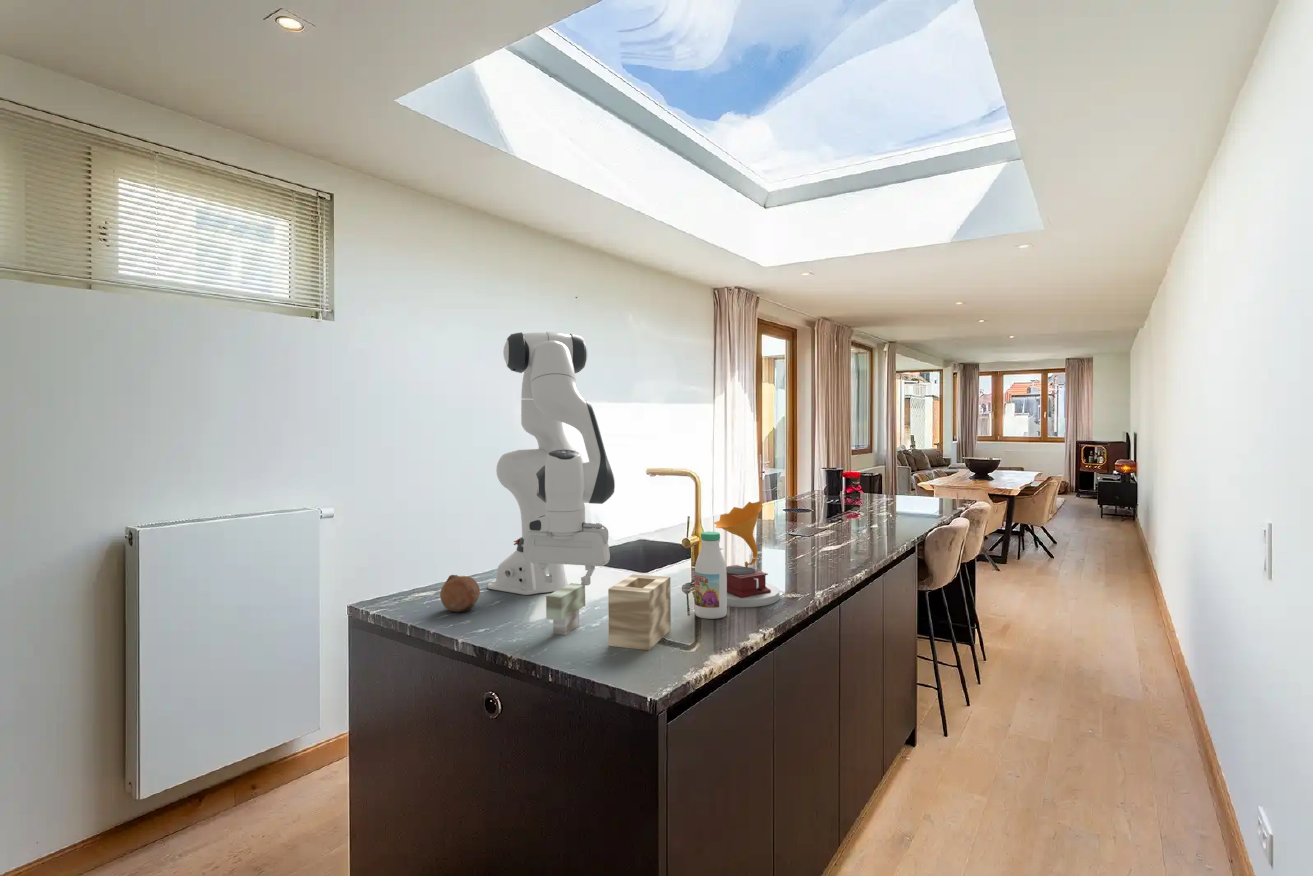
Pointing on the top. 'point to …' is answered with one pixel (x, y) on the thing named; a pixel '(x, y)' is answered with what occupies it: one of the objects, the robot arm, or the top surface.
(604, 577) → the top surface
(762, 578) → the gramophone
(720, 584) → the milk bottle
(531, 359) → the robot arm
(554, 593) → the rail end
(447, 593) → the onion
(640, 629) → the wooden square frame
